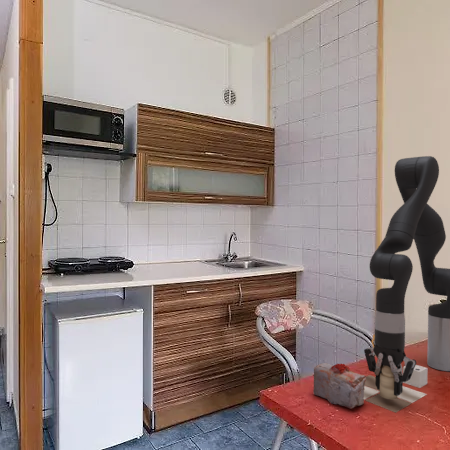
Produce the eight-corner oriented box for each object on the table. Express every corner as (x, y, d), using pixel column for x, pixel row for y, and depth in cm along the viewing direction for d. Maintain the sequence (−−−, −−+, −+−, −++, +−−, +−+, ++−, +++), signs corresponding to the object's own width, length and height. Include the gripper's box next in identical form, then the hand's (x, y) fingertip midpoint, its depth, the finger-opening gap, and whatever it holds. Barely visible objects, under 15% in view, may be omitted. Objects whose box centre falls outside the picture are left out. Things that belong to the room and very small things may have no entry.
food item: (369, 405, 104) (370, 367, 104) (354, 414, 99) (355, 375, 99) (325, 388, 114) (325, 354, 114) (308, 396, 109) (309, 360, 109)
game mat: (369, 375, 124) (369, 374, 124) (427, 394, 111) (427, 394, 111) (336, 389, 113) (336, 389, 113) (395, 413, 100) (395, 412, 100)
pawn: (384, 390, 109) (385, 360, 109) (400, 396, 105) (401, 365, 105) (376, 395, 106) (377, 363, 106) (392, 400, 103) (392, 368, 103)
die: (410, 379, 122) (410, 363, 122) (427, 384, 118) (427, 367, 118) (402, 383, 119) (403, 366, 119) (419, 388, 115) (419, 371, 115)
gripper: (423, 331, 102) (422, 397, 103) (372, 320, 114) (371, 380, 114) (409, 336, 98) (408, 405, 98) (358, 324, 109) (356, 386, 109)
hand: (388, 391), depth 106 cm, fingers closed on pawn, 4 cm apart
